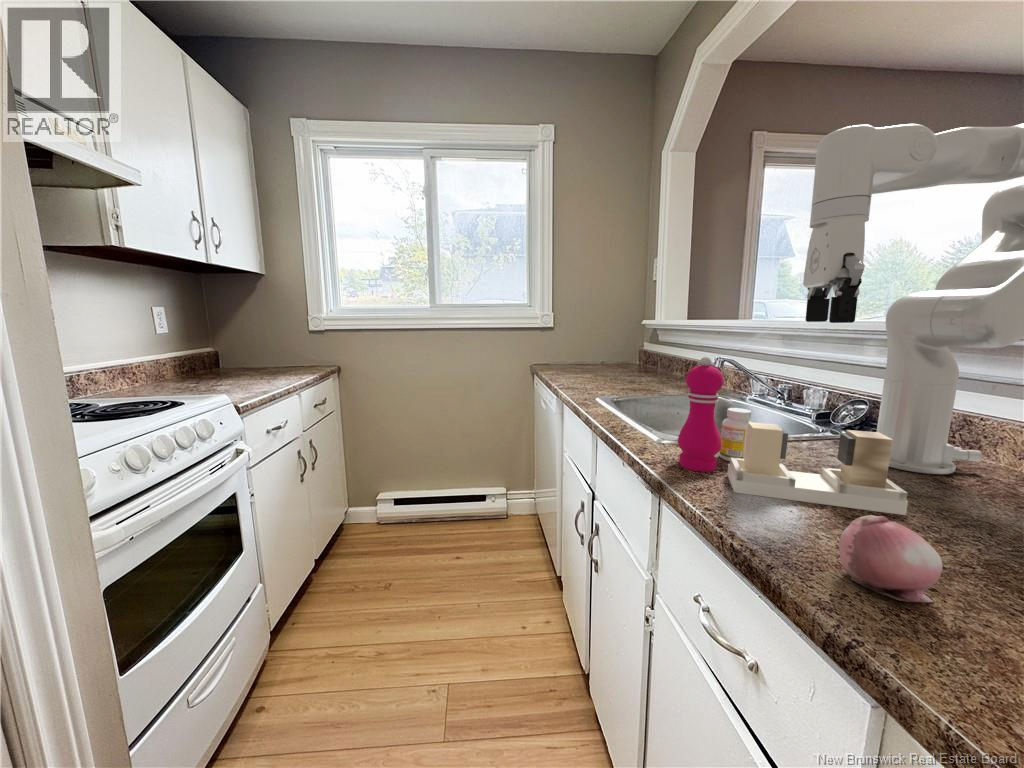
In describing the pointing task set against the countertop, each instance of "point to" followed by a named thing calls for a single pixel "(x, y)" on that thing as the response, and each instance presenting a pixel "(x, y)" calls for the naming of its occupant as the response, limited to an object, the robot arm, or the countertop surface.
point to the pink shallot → (889, 558)
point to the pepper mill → (701, 419)
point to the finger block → (864, 458)
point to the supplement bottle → (734, 433)
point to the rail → (802, 477)
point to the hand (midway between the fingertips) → (828, 322)
